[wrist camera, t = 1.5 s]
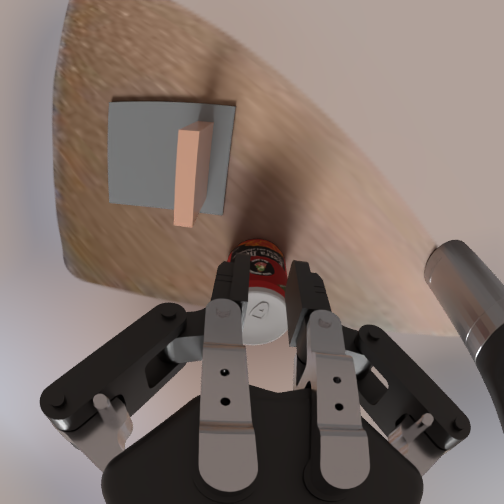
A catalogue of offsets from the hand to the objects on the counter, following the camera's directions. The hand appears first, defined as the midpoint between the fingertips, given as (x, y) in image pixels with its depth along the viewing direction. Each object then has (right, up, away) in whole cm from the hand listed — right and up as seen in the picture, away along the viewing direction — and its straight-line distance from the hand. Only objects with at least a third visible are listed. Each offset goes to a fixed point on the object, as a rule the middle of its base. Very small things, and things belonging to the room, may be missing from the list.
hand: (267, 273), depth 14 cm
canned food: (0, 0, +25) cm, 25 cm away
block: (-6, +11, +17) cm, 22 cm away
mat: (-11, +12, +18) cm, 24 cm away
